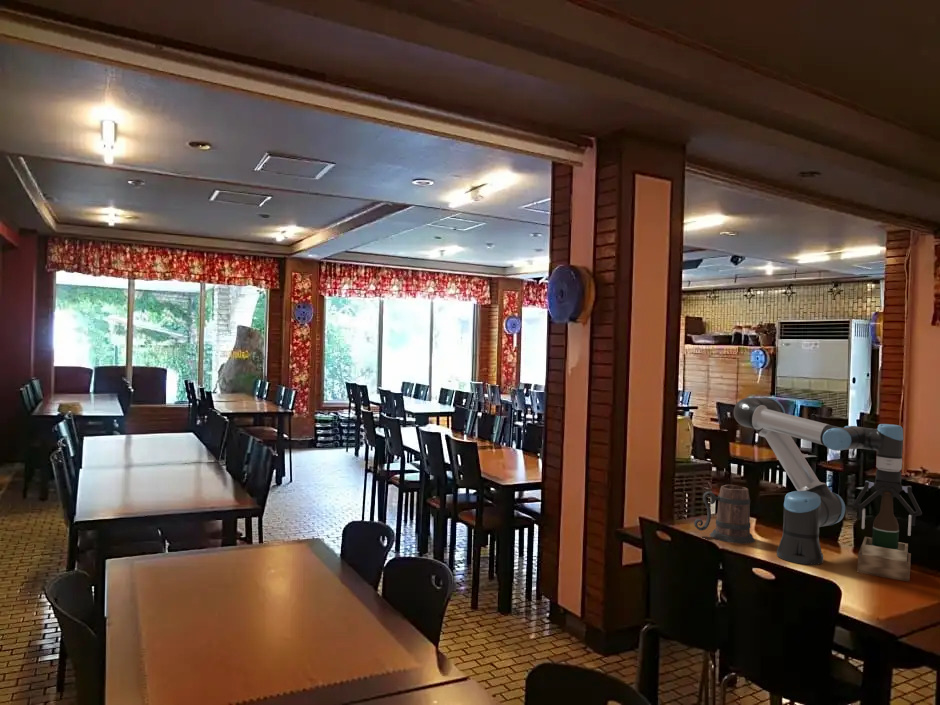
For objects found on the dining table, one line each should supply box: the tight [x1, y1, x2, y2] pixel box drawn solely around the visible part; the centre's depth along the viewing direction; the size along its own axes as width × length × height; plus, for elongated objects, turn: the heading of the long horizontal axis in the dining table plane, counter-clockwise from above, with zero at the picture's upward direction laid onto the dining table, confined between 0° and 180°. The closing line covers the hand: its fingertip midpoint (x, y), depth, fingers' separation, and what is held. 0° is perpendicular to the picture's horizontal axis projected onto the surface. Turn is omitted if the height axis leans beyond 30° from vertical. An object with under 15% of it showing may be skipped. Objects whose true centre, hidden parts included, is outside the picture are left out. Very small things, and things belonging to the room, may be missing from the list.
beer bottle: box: [871, 491, 900, 550], centre depth 239 cm, size 8×8×24 cm
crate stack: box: [856, 536, 912, 583], centre depth 239 cm, size 15×15×9 cm
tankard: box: [693, 484, 756, 544], centre depth 276 cm, size 24×17×20 cm
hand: (885, 531), depth 239 cm, fingers open, 13 cm apart
